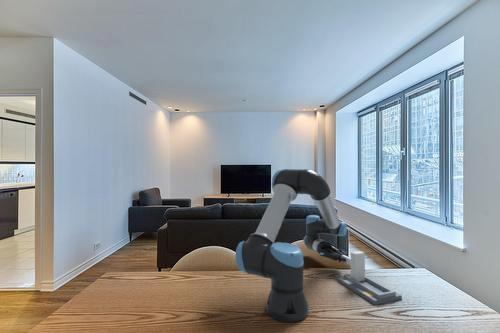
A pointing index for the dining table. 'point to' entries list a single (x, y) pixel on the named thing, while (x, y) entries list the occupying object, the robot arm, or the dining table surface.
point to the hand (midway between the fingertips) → (351, 262)
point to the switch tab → (358, 265)
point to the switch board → (370, 289)
